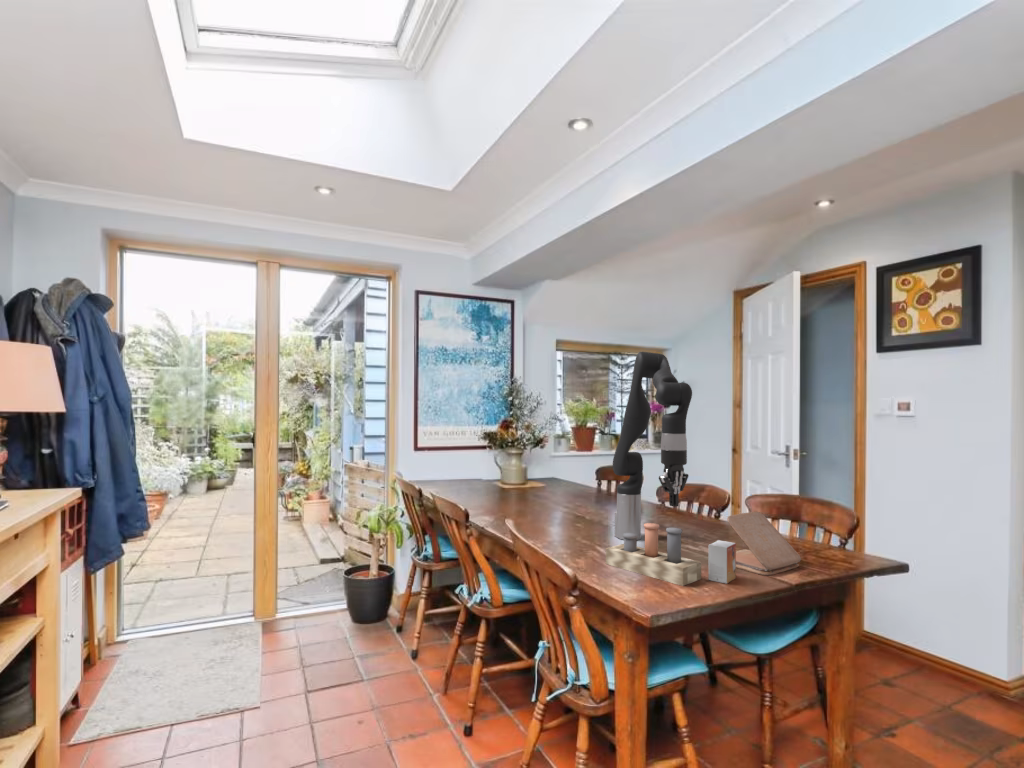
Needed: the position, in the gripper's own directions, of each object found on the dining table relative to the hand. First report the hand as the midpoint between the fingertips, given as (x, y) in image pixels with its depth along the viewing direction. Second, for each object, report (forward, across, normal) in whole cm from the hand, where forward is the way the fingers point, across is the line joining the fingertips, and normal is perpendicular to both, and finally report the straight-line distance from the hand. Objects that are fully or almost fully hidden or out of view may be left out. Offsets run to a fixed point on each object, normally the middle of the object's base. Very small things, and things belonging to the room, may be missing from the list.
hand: (673, 506), depth 166 cm
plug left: (+21, 0, -16) cm, 27 cm away
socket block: (+21, 0, -8) cm, 23 cm away
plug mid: (+17, 0, -8) cm, 19 cm away
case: (+22, -34, +9) cm, 41 cm away
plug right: (+17, 0, 0) cm, 17 cm away
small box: (+22, -10, +10) cm, 26 cm away
